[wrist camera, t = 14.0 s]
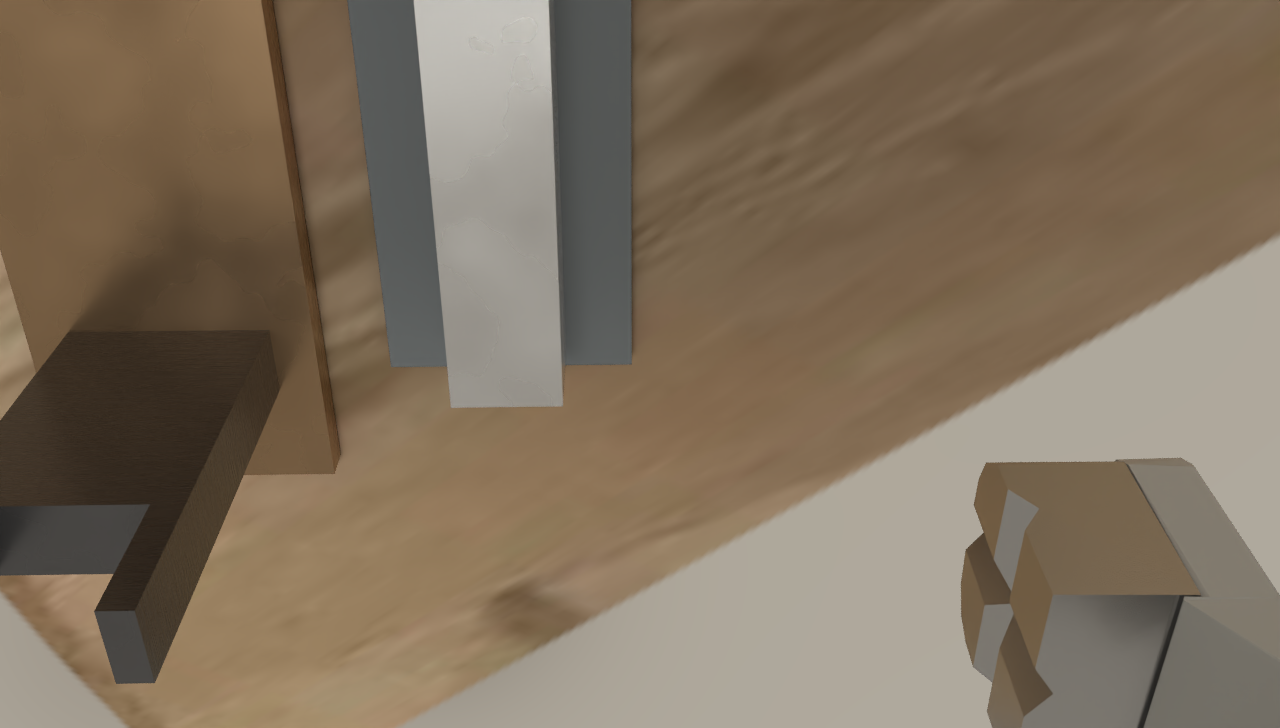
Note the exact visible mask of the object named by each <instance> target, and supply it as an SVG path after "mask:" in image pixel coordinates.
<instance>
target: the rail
mask: <svg viewBox="0 0 1280 728" xmlns="http://www.w3.org/2000/svg"><path fill="white" fill-rule="evenodd" d="M414 10H415V21H416V32H417V43H418V54H419V64H420V75H421V86H422V97H423V108H424V119H425V130H426V141H427V152H428V162H429V173H430V184H431V195H432V206H433V217H434V228H435V239H436V250H437V261H438V271H439V282H440V293H441V304H442V315H443V326H444V337H445V348H446V359H447V369H448V380H449V391H450V402H451V408H463V407H547V406H563V396H564V377H565V358H566V338H565V308H564V278H563V248H562V218H561V188H560V158H559V127H558V97H557V67H556V37H555V7H554V0H414Z"/></svg>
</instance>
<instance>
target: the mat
mask: <svg viewBox="0 0 1280 728" xmlns="http://www.w3.org/2000/svg"><path fill="white" fill-rule="evenodd" d="M347 1H348V10H349V18H350V27H351V35H352V43H353V52H354V60H355V68H356V77H357V85H358V94H359V102H360V110H361V119H362V127H363V135H364V144H365V152H366V161H367V169H368V177H369V186H370V194H371V202H372V211H373V219H374V228H375V236H376V244H377V253H378V261H379V270H380V278H381V286H382V295H383V303H384V311H385V320H386V328H387V337H388V345H389V353H390V362H391V367H437V366H447V359H446V348H445V337H444V326H443V315H442V304H441V293H440V282H439V271H438V261H437V250H436V239H435V228H434V217H433V206H432V195H431V184H430V173H429V162H428V152H427V141H426V130H425V119H424V108H423V97H422V86H421V75H420V64H419V54H418V43H417V32H416V21H415V10H414V0H347ZM554 7H555V37H556V67H557V97H558V127H559V158H560V188H561V218H562V248H563V278H564V308H565V338H566V358H565V365H616V364H632V269H631V0H554Z"/></svg>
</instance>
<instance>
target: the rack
mask: <svg viewBox="0 0 1280 728" xmlns="http://www.w3.org/2000/svg"><path fill="white" fill-rule="evenodd" d="M0 250H1V253H2V257H3V260H4V264H5V267H6V270H7V274H8V277H9V281H10V284H11V287H12V291H13V294H14V298H15V301H16V304H17V308H18V311H19V315H20V318H21V321H22V325H23V328H24V332H25V335H26V338H27V342H28V345H29V349H30V352H31V355H32V359H33V362H34V366H35V369H36V372H37V373H36V375H35V376H34V377H33V378H32V380H31V381H30V382H29V384H28V385H27V386H26V388H25V389H24V390H23V392H22V393H21V394H20V395H19V397H18V398H17V399H16V401H15V402H14V403H13V405H12V406H11V407H10V408H9V410H8V411H7V412H6V414H5V415H4V416H3V418H2V419H1V420H0V575H62V574H114V575H113V576H112V578H111V580H110V582H109V584H108V586H107V588H106V590H105V592H104V594H103V596H102V598H101V600H100V601H99V603H98V605H97V607H96V609H95V611H94V612H95V615H96V619H97V622H98V625H99V629H100V632H101V635H102V639H103V642H104V645H105V648H106V652H107V655H108V658H109V662H110V665H111V668H112V672H113V675H114V678H115V682H116V684H124V683H155V681H156V679H157V677H158V674H159V672H160V670H161V667H162V665H163V663H164V660H165V658H166V656H167V653H168V651H169V649H170V646H171V644H172V641H173V639H174V637H175V634H176V632H177V630H178V627H179V625H180V623H181V620H182V618H183V616H184V613H185V611H186V609H187V606H188V604H189V602H190V599H191V597H192V595H193V592H194V590H195V588H196V585H197V583H198V581H199V578H200V576H201V574H202V571H203V569H204V567H205V564H206V562H207V560H208V557H209V555H210V553H211V550H212V548H213V546H214V543H215V541H216V539H217V536H218V534H219V531H220V529H221V527H222V524H223V522H224V520H225V517H226V515H227V513H228V510H229V508H230V506H231V503H232V501H233V499H234V496H235V494H236V492H237V489H238V487H239V485H240V482H241V480H242V478H243V475H273V474H335V471H336V468H337V465H338V461H339V458H340V455H341V453H340V447H339V440H338V433H337V427H336V420H335V413H334V407H333V400H332V394H331V387H330V380H329V374H328V367H327V360H326V354H325V347H324V340H323V334H322V327H321V321H320V314H319V307H318V301H317V294H316V287H315V281H314V274H313V267H312V261H311V254H310V247H309V241H308V234H307V228H306V221H305V214H304V208H303V201H302V194H301V188H300V181H299V174H298V168H297V161H296V155H295V148H294V141H293V135H292V128H291V121H290V115H289V108H288V101H287V95H286V88H285V81H284V75H283V68H282V62H281V55H280V48H279V42H278V35H277V28H276V22H275V15H274V8H273V2H272V0H0Z"/></svg>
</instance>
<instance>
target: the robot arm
mask: <svg viewBox="0 0 1280 728" xmlns="http://www.w3.org/2000/svg"><path fill="white" fill-rule="evenodd" d="M974 506H975V509H976V512H977V515H978V518H979V520H980V523H981V526H982V529H983V531H984V533H983V534H982V535H981V536H980V537H979V538H978V539H977V540H975V541H974V542H973V544H971V545H970V546H969V547H968V548H967V549H966V552H965V559H964V567H963V573H962V581H961V617H962V623H963V629H964V635H965V641H966V644H967V648H968V651H969V655H970V658H971V661H972V665H973V667H974V668H975V669H976V670H978V671H979V672H980V673H981V674H982V675H984V676H985V677H986V678H988V679H989V680H990V681H991V682H992V689H991V693H990V698H989V704H988V709H987V713H988V716H989V719H990V722H991V725H992V728H1280V595H1279V593H1278V592H1277V591H1276V589H1275V587H1274V586H1273V584H1272V583H1271V581H1270V580H1269V578H1268V577H1267V575H1266V574H1265V572H1264V571H1263V569H1262V568H1261V567H1260V565H1259V564H1258V562H1257V560H1256V559H1255V557H1254V556H1253V554H1252V553H1251V551H1250V550H1249V548H1248V547H1247V545H1246V544H1245V542H1244V541H1243V539H1242V538H1241V536H1240V535H1239V533H1238V532H1237V530H1236V529H1235V527H1234V526H1233V524H1232V523H1231V521H1230V520H1229V518H1228V517H1227V515H1226V514H1225V512H1224V511H1223V509H1222V508H1221V506H1220V505H1219V503H1218V502H1217V500H1216V498H1215V497H1214V496H1213V494H1212V493H1211V491H1210V490H1209V488H1208V486H1207V485H1206V484H1205V482H1204V481H1203V479H1202V478H1201V476H1200V474H1199V473H1198V471H1197V470H1196V468H1195V467H1194V466H1193V465H1192V464H1191V463H1189V462H1187V461H1185V460H1184V459H1182V458H1162V459H1161V458H1158V459H1124V460H1116V461H1115V462H1018V463H1016V462H1013V463H1011V462H1008V463H986V464H985V466H984V469H983V471H982V473H981V476H980V478H979V482H978V486H977V492H976V497H975V502H974Z"/></svg>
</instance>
